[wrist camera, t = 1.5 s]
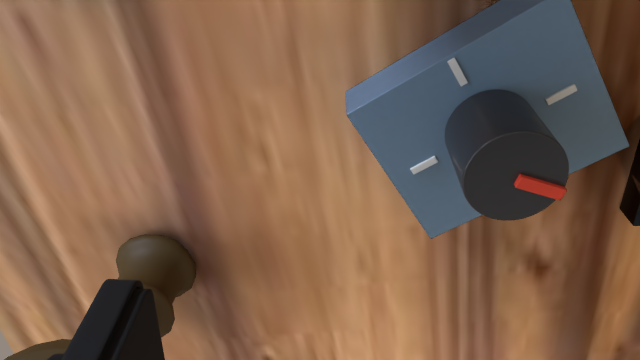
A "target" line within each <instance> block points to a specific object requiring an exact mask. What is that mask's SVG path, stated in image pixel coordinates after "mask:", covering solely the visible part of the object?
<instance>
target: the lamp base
mask: <svg viewBox="0 0 640 360" xmlns="http://www.w3.org/2000/svg"><path fill="white" fill-rule="evenodd" d="M620 210H621V211H622V212H623V213H624V215H625V216H626V217H627V219H628V220H629V221H630V222H631V224H632V225H633V226H640V139H639V143H638V146H637V150H636V153H635V157H634V160H633V164H632V167H631V171H630V174H629V178H628V181H627V185H626V188H625V192H624V195H623V199H622V202H621V206H620Z"/></svg>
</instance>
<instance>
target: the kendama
mask: <svg viewBox="0 0 640 360" xmlns="http://www.w3.org/2000/svg"><path fill="white" fill-rule="evenodd" d="M116 263H117V267H118V272H119V278H118V279H119V280H139V281H141V282H142V284H143V287H144V289H151V290H152V291H153V295H154V301H155V307H156V312H157V318H158V324H159V330H160V335H161V338H162V337H163V336H164V335H166V334H167V333H169V332H170V331H171V329H172V326H173V323H174V320H175V317H174V311H173V306H172V303H173V301H174V299H175V298H176V297H178V296H181V295H182V294H183V293H185V292H186V291H188V290H189V289H191V288H192V285H193V282H194V280H195V277H196V271H195V263H194V261H193V259H192V257H191V256H190V254H189V252H188V250H187V249H185V248H184V247H183V246H182V245H181V244H180V243H178V242H177V241H176V240H173V239H170V238H167V237H164V236H161V235H142V236H138V237H134V238H131V239H129V240H128V241H127V242H125V243H124V244H123V245H122V246H121V247H120V248H119V251H118V254H117V258H116ZM71 341H72V340H67V339H61V340H56V341H51V342H46V343H41V344H36V345H34V346H31V347H29V348H27V349H25V350H22V351H20V352H18V353H16V354H13V355H12V356H9V357H7V358H6V359H4V360H47V359H48V358H49V357H51V356H52V355H53V354H64V353H65V351H66V350H67V348H68V346H69V344H70V342H71Z"/></svg>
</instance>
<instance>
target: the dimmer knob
mask: <svg viewBox="0 0 640 360" xmlns="http://www.w3.org/2000/svg"><path fill="white" fill-rule="evenodd" d="M445 144H446V147H447V150H448V153H449V155H450V158H451V161H452V163H453V166H454V169H455V172H456V174H457V177H458V180H459V182H460V185H461V188H462V191H463V193H464V196H465V198H466V200H467V202H468V203H469V204H470V206H471V207H472V208H473V209H475V210H476V211H477V212H479V213H480V214H482V215H484V216H486V217H489V218H492V219H497V220H517V219H522V218H526V217H529V216H532V215H534V214H536V213H538V212H540V211H542V210H543V209H545V208H546V207H548V206H549V205H550V204H551V203H552V202H554V201H555V199H557V200H561V199H562V197H563V196H564V194H565V193H566V191H567V189H566V188H565V184H566V182H567V179H568V175H569V161H568V157H567V155H566V152H565V151H564V149H563V148H562V146H561V145H560V143H559V142H558V141H557V139H556V138H555V137H554V136H553V134H552V133H551V132H550V130H549V129H548V128H547V126H546V125H545V124H544V122H543V121H542V120H541V119H540V117H539V116H538V115H537V113H536V112H535V111H534V109H533V108H532V107H531V105H530V104H529V103H528V102H527V101H526V100H525V99H524V98H523V97H521V96H519V95H518V94H516V93H513V92H510V91H506V90H488V91H483V92H480V93H477V94H475V95H473V96H471V97H469V98H467V99H466V100H464V101H463V102H462V103H461V104H459V105H458V107H457V108H456V109H455V110H454V111H453V113H452V114H451V116H450V117H449V119H448V122H447V124H446V128H445Z"/></svg>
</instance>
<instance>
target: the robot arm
mask: <svg viewBox="0 0 640 360" xmlns="http://www.w3.org/2000/svg"><path fill="white" fill-rule="evenodd" d="M47 360H165V358H164V352H163V347H162V341H161V335H160V330H159V324H158V318H157V312H156V307H155V301H154V295H153V291H152V290H151V289H144V287H143V284H142V282H141V281H139V280H119V279H107V280H106V281H105V282H104V283H103V284H102V286H101V288H100V290H99V291H98V293H97V295H96V297H95V299H94V301H93V302H92V304H91V306H90V308H89V310H88V311H87V313H86V315H85V317H84V319H83V321H82V322H81V324H80V326H79V328H78V330H77V331H76V333H75V335H74V337H73V339H72V341H71V342H70V344H69V346H68V348H67V350H66V351H65V353H64V354H53V355H52V356H51V357H49V358H48V359H47Z"/></svg>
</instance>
